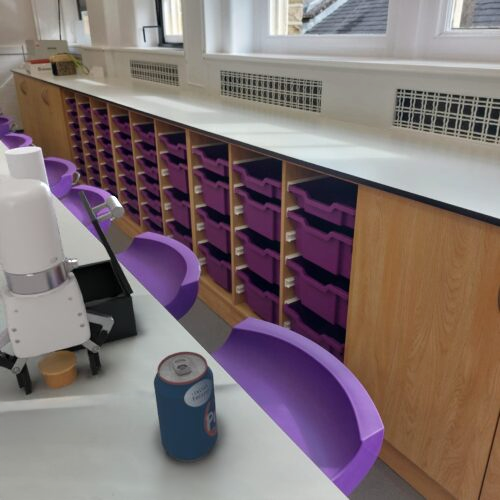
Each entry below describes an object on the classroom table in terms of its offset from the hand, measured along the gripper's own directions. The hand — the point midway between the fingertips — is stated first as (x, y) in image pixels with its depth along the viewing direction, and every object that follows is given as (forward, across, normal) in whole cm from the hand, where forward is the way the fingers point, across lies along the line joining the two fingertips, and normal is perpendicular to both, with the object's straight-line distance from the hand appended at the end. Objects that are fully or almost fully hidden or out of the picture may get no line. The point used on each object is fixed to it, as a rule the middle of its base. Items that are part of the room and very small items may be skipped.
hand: (62, 379), depth 71 cm
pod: (+1, 0, 0) cm, 1 cm away
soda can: (+2, -13, +19) cm, 23 cm away
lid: (-15, -10, -14) cm, 23 cm away
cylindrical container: (+1, -1, -50) cm, 50 cm away
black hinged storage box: (+1, -6, -14) cm, 15 cm away
